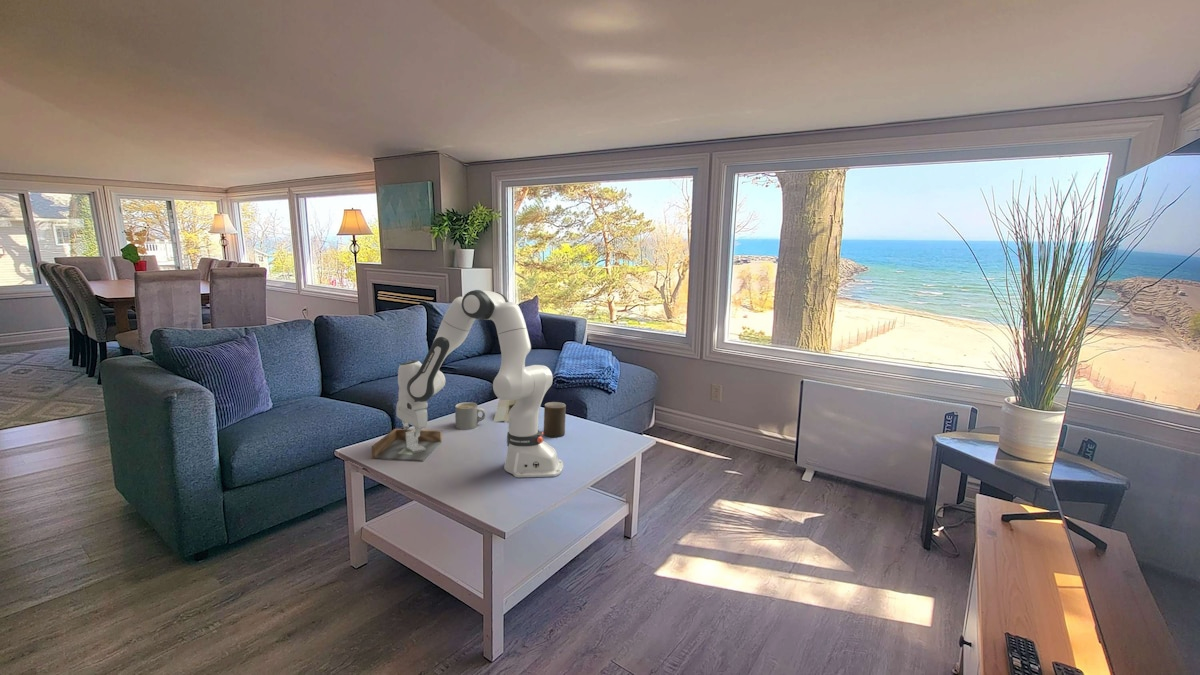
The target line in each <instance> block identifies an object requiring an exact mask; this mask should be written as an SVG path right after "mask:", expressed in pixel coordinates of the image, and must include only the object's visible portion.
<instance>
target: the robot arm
mask: <svg viewBox="0 0 1200 675" xmlns="http://www.w3.org/2000/svg"><path fill="white" fill-rule="evenodd" d="M476 320H484V321H485V320H486V321H488V320H489V321H492V322H493V323H494V325H495V328H496V334H497V337H498V344H499V346H500V348H499V349H500V352H501V362H500V368H499V371H498V373H497V374H496V376H495V377H494V379H493V381H492V390H493V393H494V395H495V397H497V398H498V399H501V400H517V401H516V403H515V405H514V406H513V407H512V408H511V410H510V412H509V422H508V430H507V435H506V444H507V453H506V458H505V462H504V466H503V469H504V470H505V471H506V472H507V473H510V474H512V475H513V476H514V477H515V478H540V477H542V478H543V477H546V478H547V477H549V478H550V477H551V478H552V477H557V476H559V475H560V474H562V472H563V471H564V470H563V469H564V462H563V461H562V459H560V458H558V452H557V451H556V449H555V448H554V447H553V446H551V445H550V444H549V443H547V442H546V441H544V433H543V432H544V431H542V432H541V431H540V430H539V417H540V416H539V415H540V410H541V406H542V402H543V400H544V397H545V395H546V393H547V391H548V390H549V389H550V388H551V386H552V384H553V380H554V378H553V377H554V376H553V373H552V370H551V369H550V368H549V367H548V366H546V365H544V364H531V365H528V366H527V365H526V359H527V356H528V354H530V352H531V350H532V344H531V341H530V340H531V339H530V336H529V332H528V328H527V324H526V320H525V317H524V314H523V312H522V309H521V308H520V305H518V304H517V303H516V302H512V301H509V299H508V298H507V297H506V296H505V295H503V293H500V292H499V291H498V292H497V291H491V290H487V289H473V290H470V291H468V292H466V294H464V296H457V297H456V298H454V299H453V301H452V302H451V303H450V305H449V307H448V308H447V310H446V312H445V313H444V315H443V318H442V319H441V322H440V325H439V327H438V330H437V333H436V335H435V338H434V339H433V342H432V345H431V346H430V348H429V349H428V352H427V354H426V356H425V357H424V359H423V362H422V363H421V361H419V360H407V361H404V362H403V363H401V364H399V366H398V370H397V384H398V401H397V402H396V411H395V412H396V417H397V418H398V419H399V420H401V423H402V427H403V429H404V430H405V431H408V430H409V429H410V426H412V427H414V430H415V432H414V436H415V437H419V436H420V431H421V430H422V429H425V428H426V427H427V425H428V411H427V408H428V407H429V406H428V405H429V404H428V402H427V401H428V400H429V399H430V398H432V397H433V396H434V395H436V394H437V393H438V392H440V391H441V390H442V389H444V388H445V385H446V383H447V382H446V381H447V379H446V376H445V374H444V372H442V371H441V370H440V368H441V367H442V364H443V363H444V361H445V360H446V358H447V357H448V356H449V355H450V354H451V353H452V352H453V351H454V350H456V349H458V347H460V346H462V344H463V343H464V342H465V340H466V338H467V337H468V335H469V334H470V331H471V329H472V327H473V324H474V322H475V321H476ZM409 425H410V426H409Z"/></svg>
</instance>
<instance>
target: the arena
mask: <svg viewBox="0 0 1200 675" xmlns="http://www.w3.org/2000/svg"><path fill="white" fill-rule="evenodd" d="M412 430H415V428H413V429H411V428H409V430H408V431H412ZM408 431H405V430H404V428H393V429H392V430H391V431H390V432H389V433H387V434H386V435H384V436H383V437H382V438H381V439H379V440H378V441H377V442H376V443H374V444H373V445H372V446H371V458H372V459H374V460H390V461H391V460H392V461H405V462H406V461H409V462H424V461H425V460H426V459H427V458H428V457H429V456H430V455H431V454H432V453H433V452H434V451H435V449H437V448H438V446H439V445H440V444H442V440H443V439H442V430H432V429H431V430H429V429H421V431H420V436H419V437H418V444H419V445H421V446H423V447H425V448H426V450H425V451H422V452H418V453H415V454H414V453H412V452H410V451H409V450H407V449H406V447H405V432H408Z"/></svg>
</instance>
